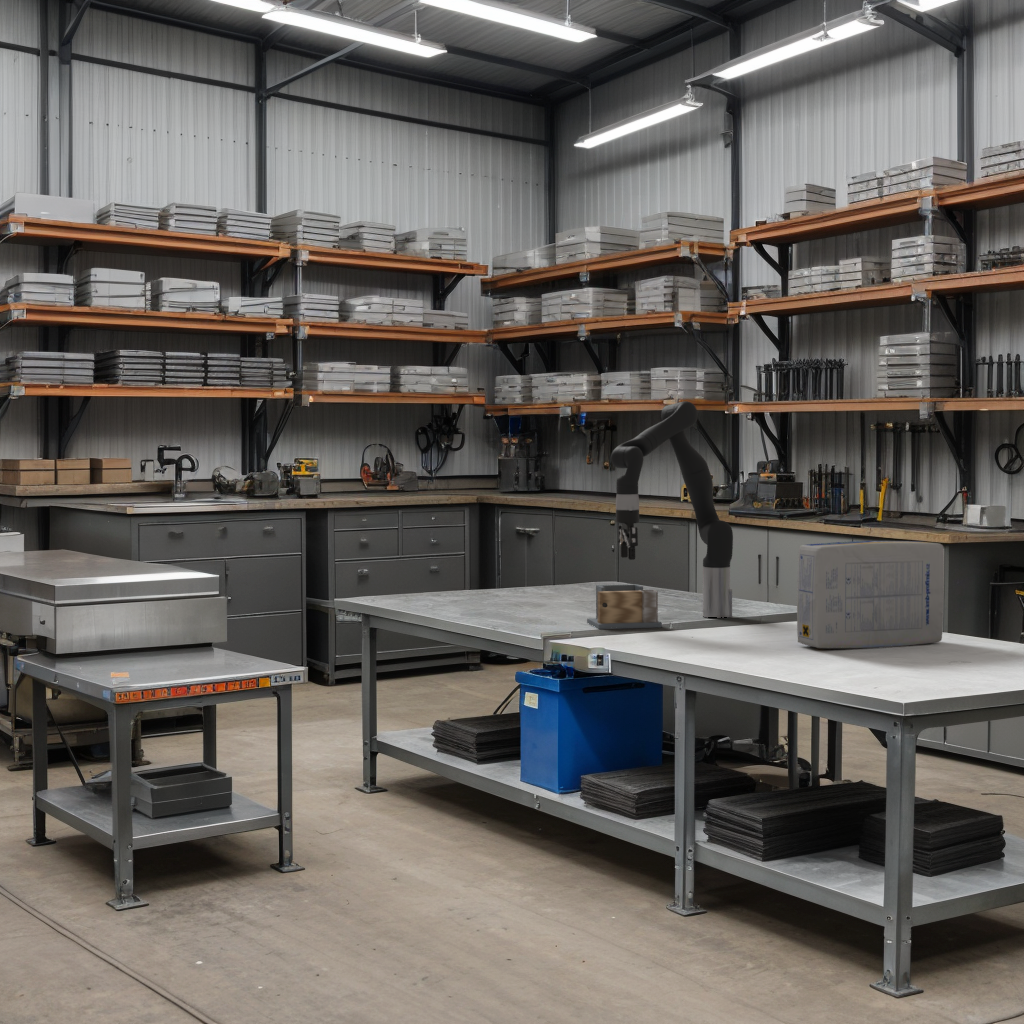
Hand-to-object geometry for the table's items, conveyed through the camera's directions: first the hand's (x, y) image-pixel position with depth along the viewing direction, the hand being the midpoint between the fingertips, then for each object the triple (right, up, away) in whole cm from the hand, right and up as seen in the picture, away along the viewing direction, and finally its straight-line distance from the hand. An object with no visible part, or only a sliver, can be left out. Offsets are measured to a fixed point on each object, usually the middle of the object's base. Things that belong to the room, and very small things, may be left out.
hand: (627, 558), depth 393 cm
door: (0, -21, 0) cm, 21 cm away
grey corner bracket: (-1, -22, +4) cm, 22 cm away
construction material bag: (+66, -24, -41) cm, 81 cm away
